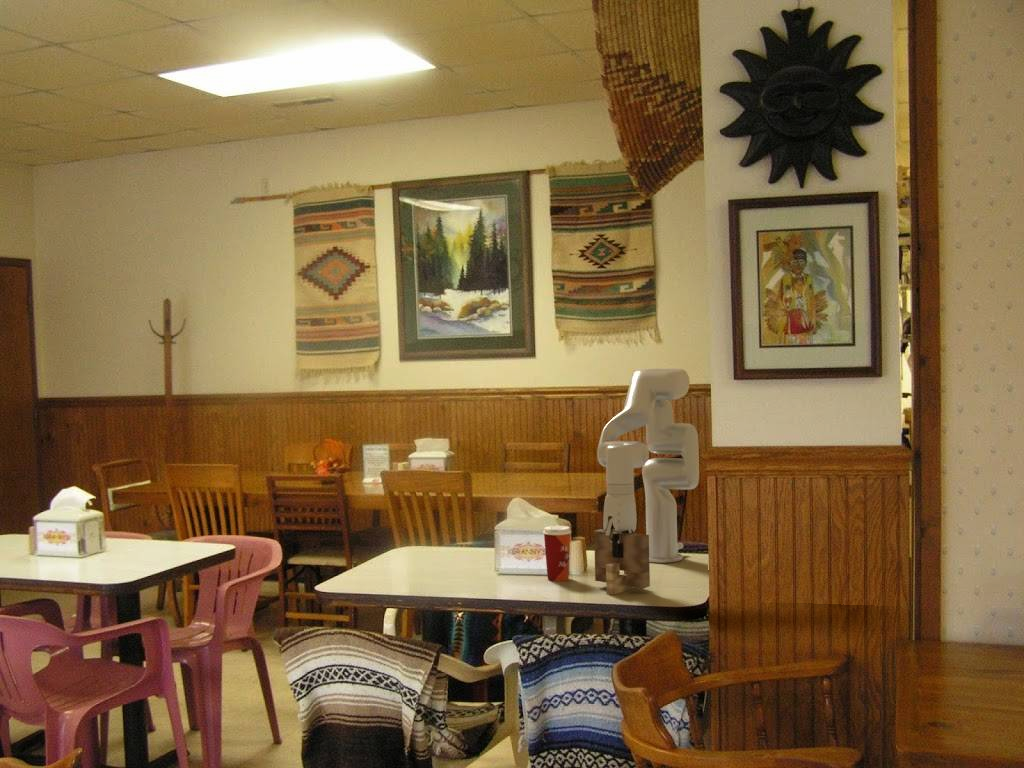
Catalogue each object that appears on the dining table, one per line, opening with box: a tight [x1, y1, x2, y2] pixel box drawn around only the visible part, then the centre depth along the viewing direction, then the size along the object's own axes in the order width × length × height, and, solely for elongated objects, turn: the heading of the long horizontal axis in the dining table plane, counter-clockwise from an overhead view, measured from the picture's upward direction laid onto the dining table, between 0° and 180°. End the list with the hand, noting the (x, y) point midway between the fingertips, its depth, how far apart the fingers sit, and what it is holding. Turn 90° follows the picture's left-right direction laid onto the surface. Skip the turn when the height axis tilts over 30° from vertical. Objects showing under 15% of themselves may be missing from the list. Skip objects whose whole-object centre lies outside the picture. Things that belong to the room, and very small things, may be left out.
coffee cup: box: [542, 525, 572, 582], centre depth 305 cm, size 8×8×15 cm
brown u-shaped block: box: [605, 563, 636, 596], centre depth 289 cm, size 12×2×8 cm, turn 140°
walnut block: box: [593, 528, 651, 589], centre depth 289 cm, size 16×3×14 cm, turn 50°
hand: (621, 555), depth 289 cm, fingers closed on walnut block, 3 cm apart
